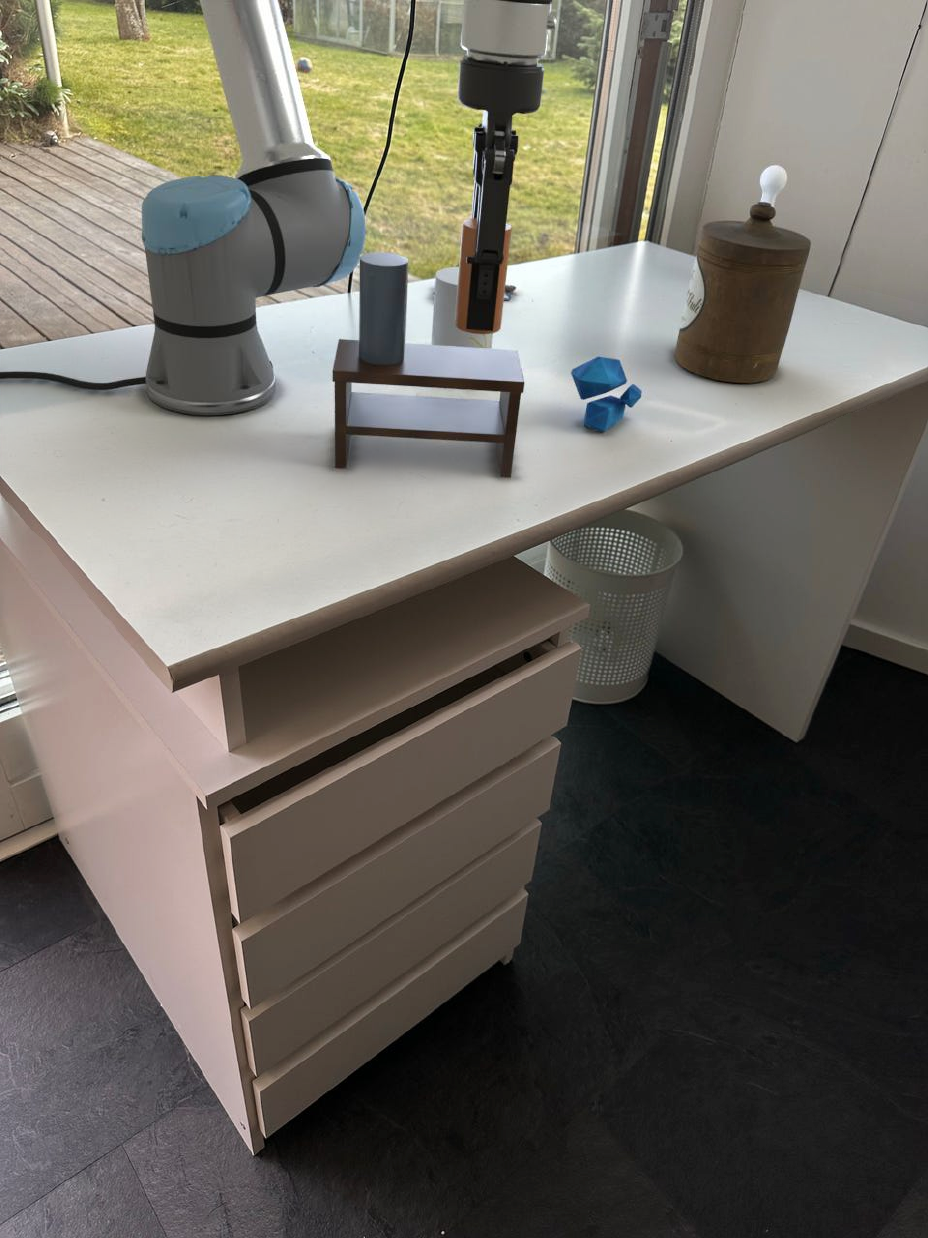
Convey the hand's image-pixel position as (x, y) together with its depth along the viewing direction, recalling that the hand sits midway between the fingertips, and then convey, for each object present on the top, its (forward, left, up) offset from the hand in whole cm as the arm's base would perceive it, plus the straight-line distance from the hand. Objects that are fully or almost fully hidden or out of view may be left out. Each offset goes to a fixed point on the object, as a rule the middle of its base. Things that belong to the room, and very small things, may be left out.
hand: (478, 318), depth 95 cm
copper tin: (0, 0, -1) cm, 1 cm away
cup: (0, +27, -16) cm, 31 cm away
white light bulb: (+53, +74, -16) cm, 92 cm away
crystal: (+17, +11, -16) cm, 26 cm away
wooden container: (+39, +34, -16) cm, 54 cm away
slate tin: (-10, 0, -5) cm, 11 cm away
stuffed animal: (+3, +58, -16) cm, 60 cm away
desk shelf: (-5, 0, -16) cm, 16 cm away
